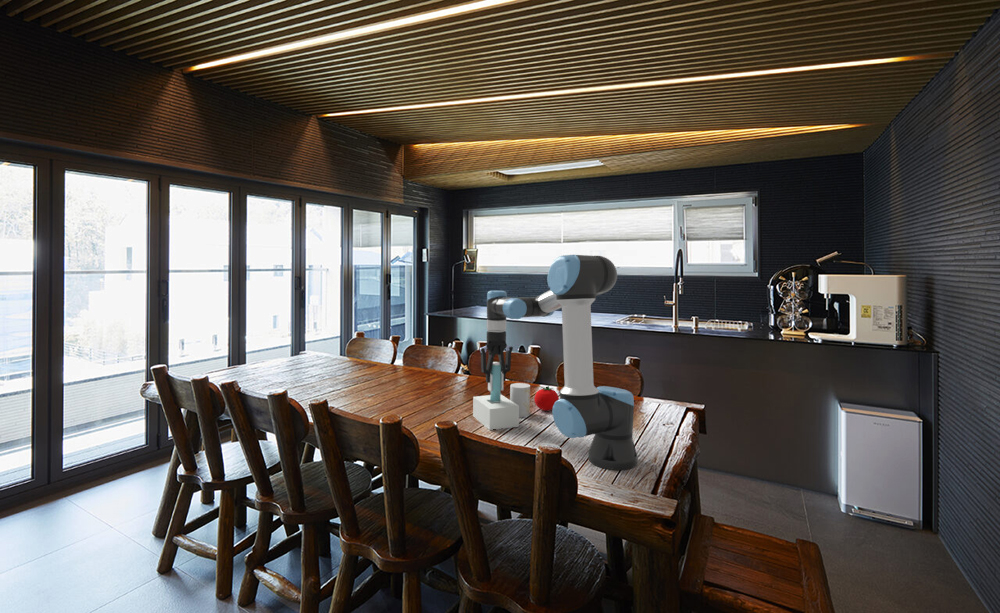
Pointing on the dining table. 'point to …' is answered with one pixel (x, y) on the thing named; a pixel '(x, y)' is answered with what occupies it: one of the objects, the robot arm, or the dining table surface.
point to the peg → (496, 382)
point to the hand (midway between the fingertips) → (495, 389)
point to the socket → (496, 412)
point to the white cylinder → (521, 397)
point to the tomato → (546, 398)
